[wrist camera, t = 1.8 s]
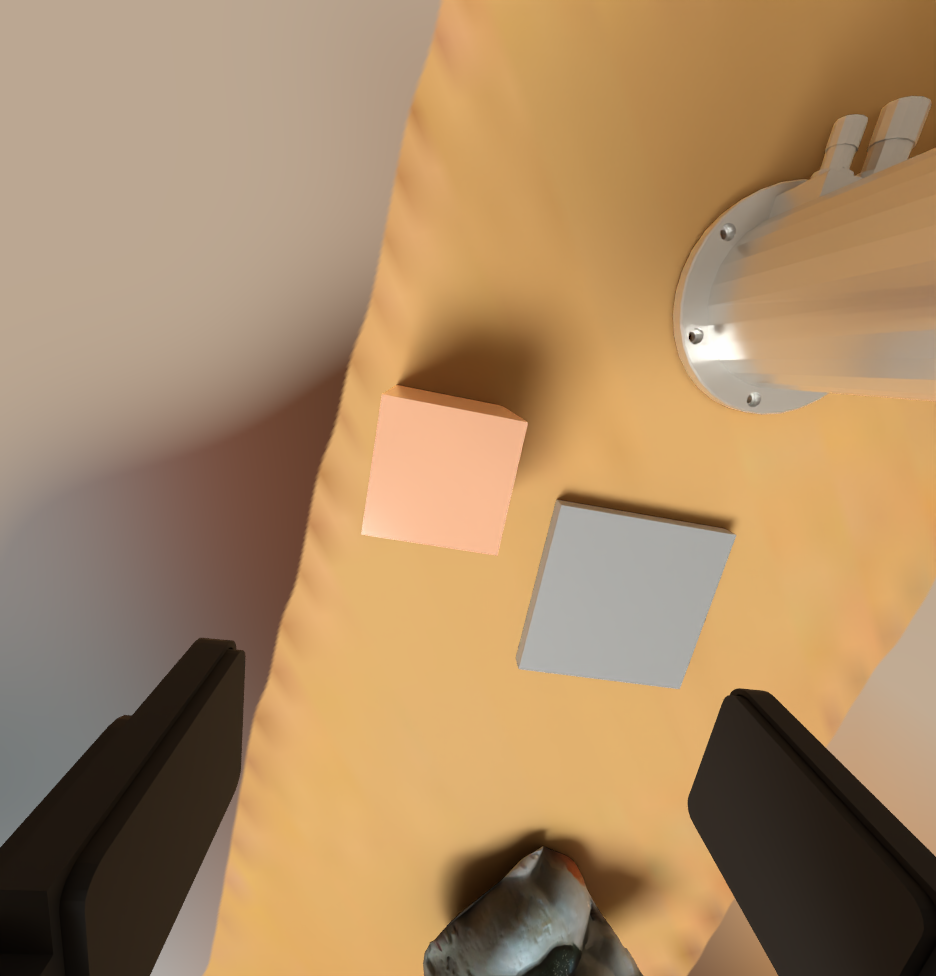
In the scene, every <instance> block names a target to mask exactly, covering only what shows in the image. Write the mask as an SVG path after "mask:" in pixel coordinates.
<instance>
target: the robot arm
mask: <svg viewBox="0 0 936 976" xmlns="http://www.w3.org/2000/svg"><path fill="white" fill-rule="evenodd" d="M931 105H932V104H931V100H930V99H928V98H926V97H924V96H909V97H903V98H899V99H896V100H894V101H891V102H889V103H888V104H886V105H885V106H884V107H883V108H882V109H881V112H880V115H879V118H878V120H877V123H876V126H875V129H874V131H873V134H872V137H871V140H870V143H869V145H868V149H867V152H868V154H867V156H866V159H865V162H864V165H863V167H862V170H861V173H859V174H857V175H854V172H853V171H851V170H850V166H851V163H852V161H853V158H854V155H855V152H857V151H858V148H859V146H860V143H861V140H862V137H863V134H864V132H865V129H866V126H867V123H868V118H867V117H866V116H864V115H859V114H853V115H846V116H844V117H841V118H839V119H838V120H837V121H836V122H835V123H834V125H833V128H832V131H831V134H830V137H829V140H828V143H827V146H826V149H825V156H824V159H823V162H822V165H821V168H820V170H818V171H816V172H815V173H813V175H812V176H811V178H810V180H809V179H799V180H792V181H784V182H780V183H777V184H774V185H772V186H769V187H766V188H763V189H760V190H759V191H757V192H755V193H753V194H751V195H749V196H747V197H745V198H743V199H741V200H740V201H738V202H737V203H736V204H734V205H733V206H732V207H730V208H729V209H727V210H726V211H725V212H723V213H722V214H721V215H720V216H719V217H718V218H717V219H716V220H715V221H714V222H713V223H712V224H711V225H710V226H709V227H708V228H707V229H706V230H705V232H704V233H703V235H702V236H701V238H700V239H699V240H698V242H697V243H696V245H695V246H694V248H693V249H692V251H691V253H690V255H689V257H688V259H687V261H686V263H685V266H684V268H683V270H682V272H681V276H680V279H679V283H678V286H677V289H676V293H675V301H674V309H673V327H674V338H675V342H676V346H677V351H678V355H679V357H680V360H681V362H682V364H683V366H684V368H685V370H686V372H687V374H688V375H689V377H690V378H691V379H692V381H693V382H694V383H695V385H696V386H697V387H698V388H699V389H700V390H701V391H702V392H703V393H705V394H706V395H707V396H708V397H709V398H711V399H712V400H714V401H716V402H717V403H719V404H721V405H723V406H725V407H727V408H731V409H734V410H738V411H742V412H748V413H756V414H779V413H784V412H788V411H792V410H796V409H800V408H802V407H805V406H807V405H809V404H811V403H813V402H816V401H818V400H819V399H821V398H822V397H824V396H826V395H827V394H829V393H836V394H849V395H862V396H874V397H887V398H900V399H912V400H925V401H936V148H933V149H931V150H929V151H926V152H924V153H922V154H919V155H917V156H915V157H912V158H910V159H908V158H909V155H910V153H911V150H912V149H913V148H914V147H915V146H916V144H917V142H918V139H919V137H920V134H921V131H922V129H923V126H924V124H925V121H926V118H927V116H928V113H929V111H930V108H931ZM720 233H721V235H722V238H721V235H720ZM689 334H691V339H690V340H689ZM244 678H245V652H244V651H243V650H236V644H235V642H234V641H230V640H220V639H209V638H199V639H198V640H196V641H195V642H194V643H193V645H192V646H191V647H190V648H189V650H188V651H187V652H186V653H185V654H184V655H183V656H182V658H181V659H180V660H179V661H178V662H177V664H176V665H175V666H174V667H173V668H172V669H171V670H170V672H169V673H168V674H167V675H166V676H165V677H164V679H163V680H162V681H161V682H160V683H159V685H158V686H157V687H156V688H155V689H154V690H153V692H152V693H151V694H150V695H149V696H148V697H147V699H146V700H145V701H144V702H143V703H142V704H141V706H140V707H139V708H138V709H137V710H136V711H135V713H134V714H133V715H132V716H129V715H124V716H122V717H119V718H117V719H116V720H115V721H114V722H113V723H112V724H111V725H109V726H108V727H107V729H106V730H105V731H104V732H103V733H102V734H101V735H100V737H99V738H98V739H97V740H96V741H95V742H94V743H93V744H92V745H91V747H90V748H89V749H88V750H87V751H86V752H85V753H84V755H82V757H81V758H80V759H79V760H78V761H77V762H76V763H75V764H74V766H73V767H72V768H71V769H70V770H69V771H68V772H67V773H66V775H65V776H64V777H63V778H62V779H61V780H60V781H59V782H58V783H57V785H56V786H55V787H54V788H53V789H52V790H51V791H50V793H49V794H48V795H47V796H46V797H45V798H44V799H43V801H42V802H41V803H40V804H39V805H38V806H37V807H36V808H35V809H34V810H33V812H32V813H31V814H30V815H29V816H28V817H27V818H26V819H25V820H24V822H23V823H22V824H21V825H20V826H19V827H18V828H17V829H16V831H15V832H14V833H13V834H12V835H11V836H10V837H9V838H8V840H7V841H6V842H5V843H4V844H3V845H2V846H1V847H0V976H150V974H151V972H152V970H153V967H154V965H155V963H156V961H157V959H158V957H159V955H160V952H161V950H162V948H163V945H164V944H165V941H166V939H167V937H168V935H169V933H170V931H171V929H172V926H173V924H174V922H175V920H176V918H177V916H178V914H179V911H180V909H181V907H182V905H183V903H184V901H185V898H186V896H187V894H188V892H189V890H190V888H191V885H192V883H193V881H194V879H195V877H196V874H197V873H198V870H199V868H200V866H201V864H202V862H203V860H204V857H205V855H206V853H207V851H208V849H209V847H210V844H211V842H212V840H213V838H214V836H215V833H216V832H217V829H218V827H219V825H220V822H221V821H222V819H223V816H224V814H225V812H226V810H227V808H228V806H229V803H230V801H231V799H232V797H233V795H234V792H235V790H236V787H237V784H238V780H239V777H240V771H241V753H242V752H241V751H242V727H243V703H244ZM688 811H689V814H690V817H691V820H692V822H693V824H694V825H695V827H696V829H697V831H698V833H699V834H700V836H701V838H702V840H703V842H704V843H705V845H706V847H707V849H708V850H709V852H710V854H711V856H712V858H713V859H714V861H715V863H716V865H717V867H718V868H719V870H720V872H721V874H722V875H723V877H724V879H725V881H726V883H727V884H728V886H729V888H730V890H731V892H732V893H733V895H734V897H735V899H736V901H737V902H738V904H739V906H740V908H741V909H742V911H743V913H744V915H745V917H746V918H747V920H748V922H749V924H750V926H751V927H752V929H753V931H754V933H755V934H756V936H757V938H758V940H759V942H760V943H761V945H762V947H763V949H764V950H765V952H766V954H767V956H768V958H769V960H770V961H771V963H772V965H773V967H774V968H775V970H776V972H777V974H778V976H936V857H935V856H934V855H933V854H932V853H931V852H930V851H929V850H928V849H927V848H926V847H925V846H924V845H923V844H922V843H921V842H920V841H919V840H918V839H917V838H916V837H915V836H914V835H913V834H912V833H911V832H910V831H909V830H908V829H907V828H906V827H905V826H904V825H903V824H902V823H901V822H900V821H899V820H898V819H897V818H896V817H895V816H894V815H893V814H892V813H891V812H890V811H889V810H888V809H887V808H886V807H885V806H884V805H883V804H882V803H881V802H880V801H879V800H878V799H877V798H876V797H875V796H874V795H873V794H872V793H871V792H870V791H869V790H868V789H867V788H866V787H865V786H864V785H863V784H861V782H859V780H857V779H856V777H855V776H854V775H852V774H851V772H850V771H849V770H848V769H847V768H845V767H844V766H843V765H842V764H841V763H840V762H839V761H838V760H837V759H836V758H835V757H834V756H833V755H832V754H831V753H830V752H829V751H828V750H827V749H826V748H825V747H824V746H823V745H822V744H821V743H820V742H819V741H818V740H817V739H816V738H815V737H814V736H813V735H812V734H811V733H810V732H809V731H808V730H807V729H806V728H805V727H804V726H803V725H802V724H801V723H800V722H799V721H798V720H797V719H796V718H795V717H794V716H793V715H792V714H791V713H790V712H789V711H788V710H787V709H786V708H785V707H784V706H783V705H782V704H781V703H780V702H779V701H778V700H777V699H776V698H775V697H774V696H773V695H771V694H770V693H769V692H766V691H760V690H750V689H735V690H733V691H732V692H731V694H730V696H727V697H725V699H724V700H723V703H722V705H721V708H720V711H719V714H718V717H717V719H716V722H715V725H714V728H713V730H712V733H711V736H710V739H709V742H708V744H707V747H706V750H705V753H704V755H703V758H702V761H701V764H700V767H699V769H698V772H697V775H696V778H695V780H694V783H693V786H692V789H691V791H690V794H689V797H688Z"/></svg>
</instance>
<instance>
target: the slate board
mask: <svg viewBox="0 0 936 976" xmlns="http://www.w3.org/2000/svg"><path fill="white" fill-rule="evenodd" d="M735 537H736V535H735V534H733V533H732V532H730V531H728V530H726V529H724V528H718V527H713V526H707V525H701V524H695V523H690V522H684V521H678V520H672V519H666V518H661V517H655V516H649V515H643V514H638V513H632V512H626V511H620V510H614V509H609V508H603V507H597V506H591V505H586V504H580V503H574V502H568V501H563V500H557V499H556V503H555V507H554V511H553V515H552V519H551V523H550V527H549V530H548V534H547V538H546V542H545V546H544V550H543V554H542V558H541V562H540V565H539V569H538V573H537V577H536V581H535V585H534V589H533V593H532V597H531V601H530V604H529V608H528V612H527V616H526V620H525V624H524V628H523V632H522V636H521V639H520V643H519V647H518V651H517V655H516V661H517V665H518V668H519V669H522V670H530V671H538V672H546V673H554V674H562V675H570V676H578V677H586V678H594V679H602V680H610V681H618V682H626V683H634V684H643V685H651V686H659V687H667V688H675V689H680V687H681V684H682V681H683V678H684V676H685V673H686V670H687V668H688V665H689V662H690V659H691V657H692V654H693V651H694V649H695V646H696V643H697V640H698V638H699V635H700V632H701V630H702V627H703V624H704V621H705V619H706V616H707V613H708V611H709V608H710V605H711V602H712V600H713V597H714V594H715V591H716V589H717V586H718V583H719V581H720V578H721V575H722V572H723V570H724V567H725V564H726V562H727V559H728V556H729V553H730V551H731V548H732V545H733V543H734V540H735Z"/></svg>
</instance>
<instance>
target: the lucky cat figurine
mask: <svg viewBox="0 0 936 976" xmlns="http://www.w3.org/2000/svg"><path fill="white" fill-rule="evenodd" d="M423 967H424V976H643V975H642V973H641V972H640V970H639V969H638V967H637V965H636V963H635V961H634V959H633V958H632V956H631V954H630V953H629V951H628V950H627V949H626V948H624V947H623V945H622V944H621V942H620V940H619V938H618V937H617V935H616V934H615V933H614V931H613V930H612V928H611V926H610V925H609V924H608V923H607V921H606V920H605V919H604V917H603V916H602V914H601V913H600V911H599V909H598V908H597V906H596V905H595V903H594V901H593V900H592V898H591V896H590V894H589V892H588V890H587V888H586V885H585V882H584V880H583V877H582V875H581V873H580V871H579V869H578V867H577V866H576V864H575V863H574V862H573V860H572V859H571V858H569V857H568V856H566V855H564V854H561V853H559V852H556V851H553V850H551V849H549V848H547V847H544V846H542V847H541V848H539V849H538V850H536V851H535V852H533V853H531V854H529V855H527V856H526V857H524V858H523V859H522V860H520V861H519V862H518V863H517V864H516V865H515V866H514V867H513V868H512V870H511V871H510V872H509V873H508V874H507V875H506V876H505V877H504V878H503V879H502V880H501V881H500V882H498V883H497V884H496V885H495V886H494V887H492V888H491V889H490V890H489V891H487V892H486V893H485V894H484V895H482V896H481V897H480V898H479V899H477V900H476V901H475V902H474V903H472V904H471V905H470V906H468V907H467V908H466V909H464V910H463V911H462V912H461V913H460V914H459V915H458V916H457V917H456V918H454V919H453V920H452V921H451V922H450V923H449V924H448V925H447V927H446V928H445V929H444V930H443V931H442V932H441V933H440V935H439V936H438V937H437V938H436V939H435V940H434V941H432V942H430V945H429V946H428V948H427V950H426V951H425V956H424V962H423Z"/></svg>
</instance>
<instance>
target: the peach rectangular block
mask: <svg viewBox="0 0 936 976" xmlns="http://www.w3.org/2000/svg"><path fill="white" fill-rule="evenodd" d="M527 425H528V422H527V421H525V420H524V419H522V418H520V417H519V416H517V415H516V414H514V413H513V412H511V411H509V410H508V409H506V408H505V407H503V406H501V405H496V404H491V403H486V402H481V401H476V400H471V399H466V398H461V397H456V396H451V395H445V394H440V393H435V392H430V391H425V390H420V389H415V388H410V387H405V386H400V385H396V386H394V387H392V388H391V389H389V390H388V391H386V392H385V393H383V394H382V397H381V404H380V411H379V418H378V424H377V431H376V438H375V445H374V452H373V458H372V465H371V472H370V479H369V485H368V492H367V499H366V506H365V513H364V519H363V526H362V533H361V535H368V536H374V537H381V538H387V539H394V540H400V541H406V542H413V543H419V544H426V545H432V546H439V547H445V548H452V549H458V550H465V551H471V552H477V553H484V554H490V555H498V551H499V547H500V542H501V538H502V534H503V529H504V525H505V521H506V516H507V512H508V508H509V503H510V499H511V494H512V490H513V486H514V481H515V477H516V473H517V468H518V464H519V460H520V455H521V451H522V447H523V442H524V438H525V434H526V429H527Z"/></svg>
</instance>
